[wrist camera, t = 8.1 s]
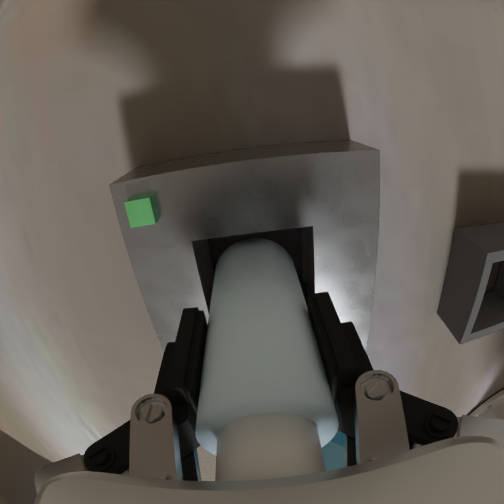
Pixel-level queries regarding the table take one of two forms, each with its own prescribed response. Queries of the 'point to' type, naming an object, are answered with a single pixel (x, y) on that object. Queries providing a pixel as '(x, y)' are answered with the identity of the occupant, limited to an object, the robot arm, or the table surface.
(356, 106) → the table surface
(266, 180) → the port
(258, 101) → the table surface
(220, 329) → the plug
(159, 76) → the table surface
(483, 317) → the grey open box
